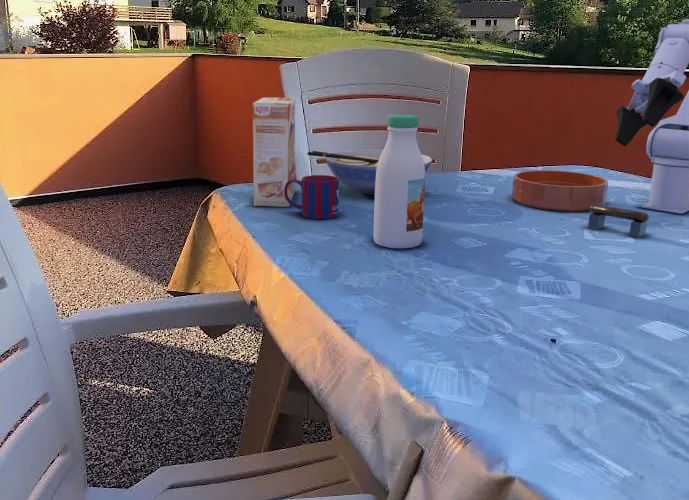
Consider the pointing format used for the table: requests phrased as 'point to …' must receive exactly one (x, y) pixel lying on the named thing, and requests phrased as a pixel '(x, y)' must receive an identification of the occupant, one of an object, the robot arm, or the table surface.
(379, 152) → the ramen bowl
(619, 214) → the brown rod
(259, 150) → the coffeecake box
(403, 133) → the milk bottle
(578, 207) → the bowl
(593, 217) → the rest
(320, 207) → the mug
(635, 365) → the table surface
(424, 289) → the table surface
